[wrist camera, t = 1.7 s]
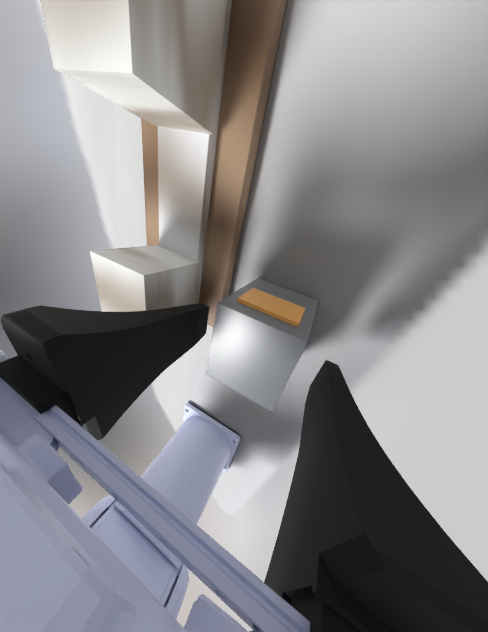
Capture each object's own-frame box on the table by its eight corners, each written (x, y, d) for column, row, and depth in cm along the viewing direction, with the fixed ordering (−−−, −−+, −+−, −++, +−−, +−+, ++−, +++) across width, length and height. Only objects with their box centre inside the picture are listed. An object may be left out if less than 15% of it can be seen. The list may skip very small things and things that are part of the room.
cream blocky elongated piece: (222, 323, 16) (170, 366, 11) (157, 292, 18) (88, 317, 13) (288, -8, 8) (193, -473, 3) (152, 2, 10) (-52, -247, 5)
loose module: (292, 355, 15) (271, 411, 10) (243, 332, 16) (205, 374, 11) (320, 297, 12) (309, 338, 8) (259, 275, 13) (218, 298, 9)
